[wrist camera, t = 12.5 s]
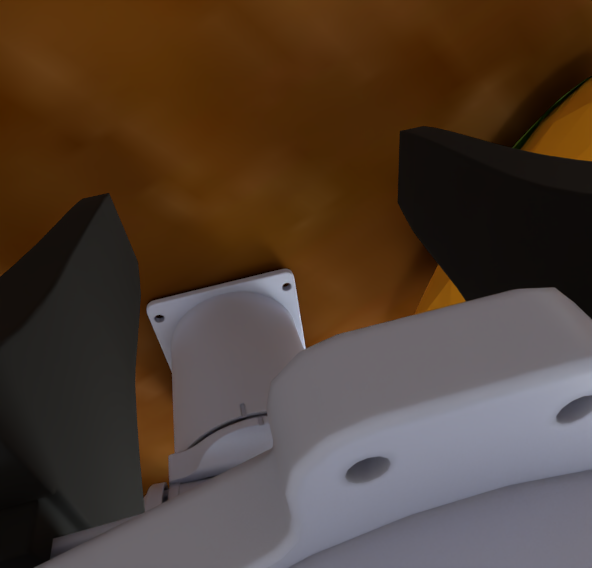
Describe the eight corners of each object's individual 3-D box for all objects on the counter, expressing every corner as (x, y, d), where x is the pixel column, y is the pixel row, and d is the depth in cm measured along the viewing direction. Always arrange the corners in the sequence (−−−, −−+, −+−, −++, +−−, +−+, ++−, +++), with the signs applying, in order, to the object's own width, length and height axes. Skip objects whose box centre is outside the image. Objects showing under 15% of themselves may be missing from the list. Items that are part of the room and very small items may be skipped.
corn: (827, 132, 19) (484, 446, 27) (669, 92, 25) (429, 355, 33) (746, 20, 16) (384, 413, 23) (589, 6, 22) (344, 319, 30)
